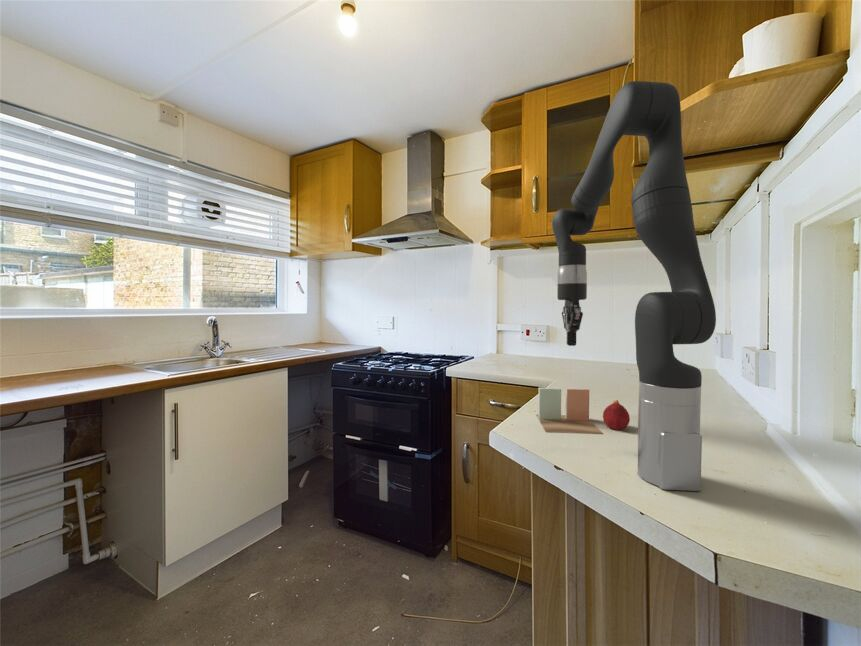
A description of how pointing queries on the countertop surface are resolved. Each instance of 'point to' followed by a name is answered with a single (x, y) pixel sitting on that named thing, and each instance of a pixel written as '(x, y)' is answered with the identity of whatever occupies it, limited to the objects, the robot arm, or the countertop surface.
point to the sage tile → (549, 403)
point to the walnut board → (569, 426)
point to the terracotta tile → (577, 403)
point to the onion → (616, 416)
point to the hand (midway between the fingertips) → (571, 345)
